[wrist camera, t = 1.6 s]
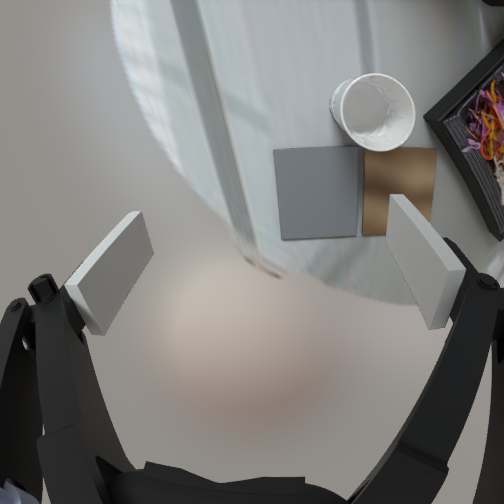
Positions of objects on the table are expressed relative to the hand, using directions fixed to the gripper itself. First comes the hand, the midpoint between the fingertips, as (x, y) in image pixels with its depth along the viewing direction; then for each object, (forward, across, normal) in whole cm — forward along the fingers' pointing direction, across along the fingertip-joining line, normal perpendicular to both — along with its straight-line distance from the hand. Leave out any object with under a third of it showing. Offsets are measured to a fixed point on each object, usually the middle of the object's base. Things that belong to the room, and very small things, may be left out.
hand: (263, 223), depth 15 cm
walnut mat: (+25, +17, -8) cm, 31 cm away
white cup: (+25, +11, +4) cm, 27 cm away
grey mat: (+25, +5, -8) cm, 26 cm away
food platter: (+26, +46, +9) cm, 53 cm away
